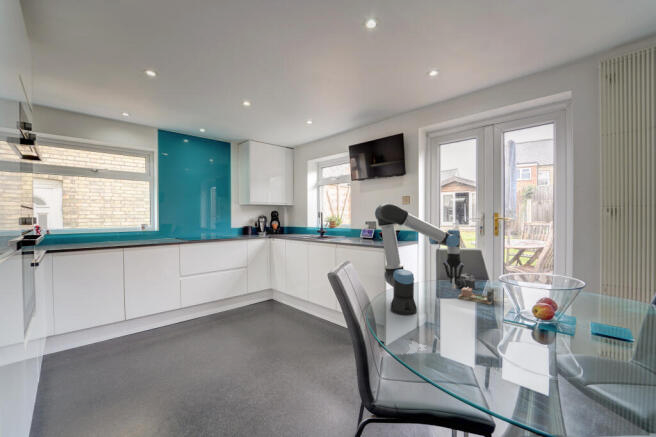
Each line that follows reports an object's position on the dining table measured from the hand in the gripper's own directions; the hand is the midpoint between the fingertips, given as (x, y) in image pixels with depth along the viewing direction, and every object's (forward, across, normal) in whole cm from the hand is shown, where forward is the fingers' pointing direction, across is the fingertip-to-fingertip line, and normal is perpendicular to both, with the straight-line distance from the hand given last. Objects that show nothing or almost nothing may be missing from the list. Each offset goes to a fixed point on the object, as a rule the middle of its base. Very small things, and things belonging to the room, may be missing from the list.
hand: (453, 288), depth 174 cm
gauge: (+3, +8, 0) cm, 8 cm away
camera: (+5, -1, +24) cm, 25 cm away
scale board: (+5, +13, 0) cm, 14 cm away
